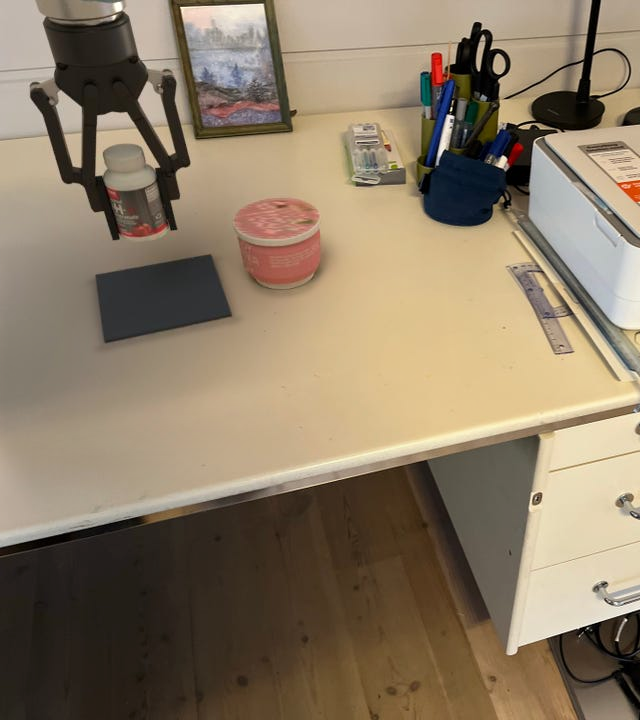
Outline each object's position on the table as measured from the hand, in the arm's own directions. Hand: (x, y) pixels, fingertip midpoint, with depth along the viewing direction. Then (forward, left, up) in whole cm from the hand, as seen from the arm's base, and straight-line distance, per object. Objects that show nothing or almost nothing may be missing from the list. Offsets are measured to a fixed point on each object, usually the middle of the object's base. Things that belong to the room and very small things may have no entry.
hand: (144, 229), depth 85 cm
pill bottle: (0, 0, -1) cm, 1 cm away
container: (+15, 0, -10) cm, 18 cm away
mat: (0, 0, -10) cm, 10 cm away
